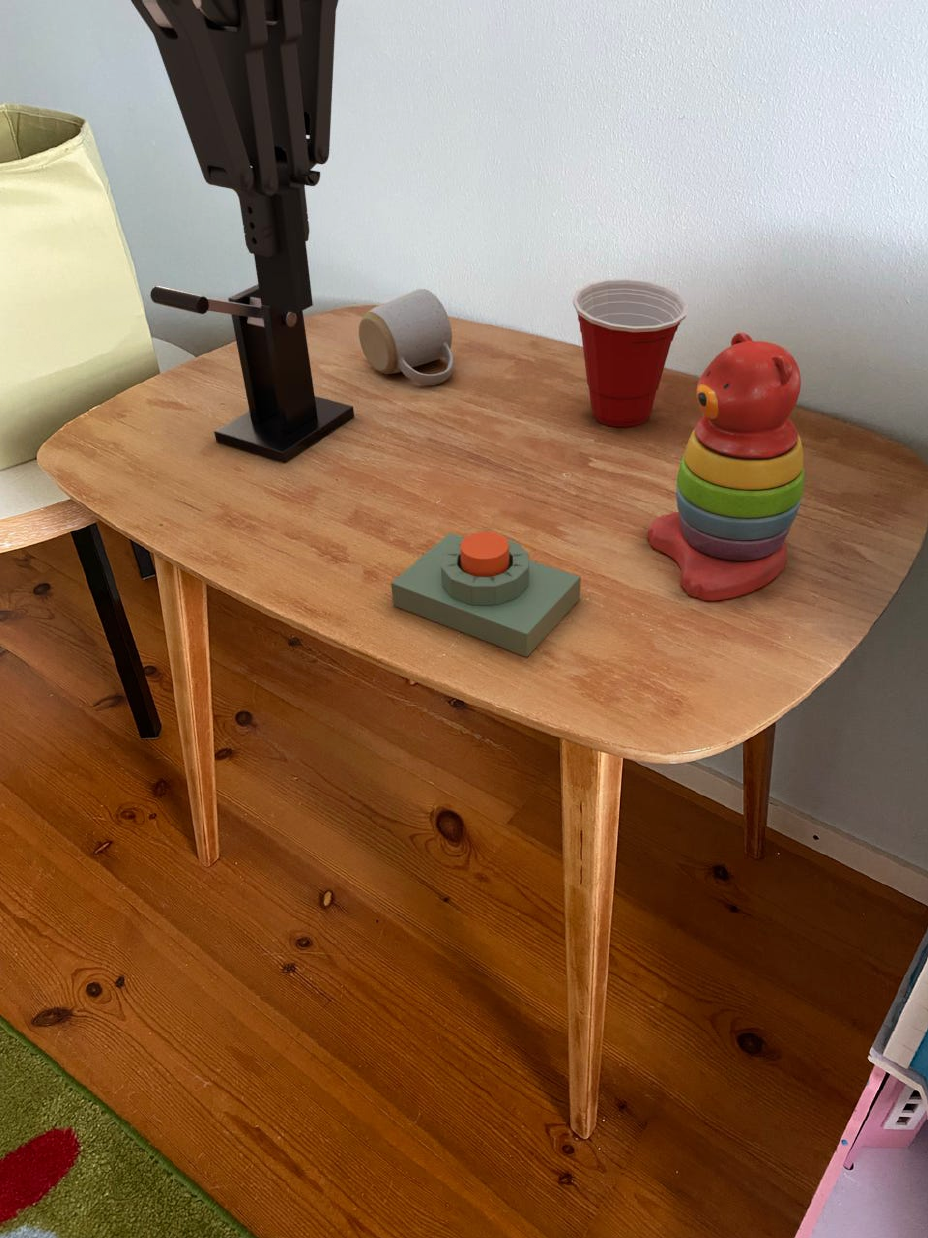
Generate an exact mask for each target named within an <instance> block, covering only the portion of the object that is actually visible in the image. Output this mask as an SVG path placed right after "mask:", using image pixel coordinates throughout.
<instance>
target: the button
mask: <svg viewBox="0 0 928 1238" xmlns="http://www.w3.org/2000/svg"><path fill="white" fill-rule="evenodd" d="M460 551H461V567H462V569H463V570H464V572H465V573H467V574H470V575H473V576H476V577H492V576H495V575H499V574H502V573H504V572H505V571H506V570H507V569H508V567H509V543H508V541H507V538H506V537H505V536H503V535H502V534H499V533H497V532H492V531H479V532H475V533H472V534H468V535H467V536H465V537H464V539H463V541H462V542H461V545H460Z"/></svg>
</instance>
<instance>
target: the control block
mask: <svg viewBox="0 0 928 1238" xmlns="http://www.w3.org/2000/svg"><path fill="white" fill-rule="evenodd" d="M464 538H465V537H463V536H461V535H458V534H456V533H451V532H448V534H447V535H444V537H443V538H442V539H441V540H440V541H438V542H437V543H436V544H435V545H434V546H432V547H431V548H430V549H429V550H428V551H426V552H425V553H424V554H423V555H422V556H420V557H419V558H418V559H417V560H416V561H415V562H414V563H413V564H411V565H410V566H409V567H408V568H406V569H405V570H403V572H402V573H401V574H400V575H398V576H397V577H396V578H394V580H393V581H391V583H390V585H391V596H392V597H391V598H392V605H393V606H394V607H395V608H399V609H402V610H404V611H407V612H409V613H412V614H414V615H417V616H420V617H422V618H425V619H426V620H430V621H432V622H435V623H437V624H440V625H442V626H445V627H448V628H451V629H453V630H456V631H458V632H461V633H464V634H466V635H468V636H470V637H473V638H476V639H479V640H481V641H484V642H486V643H489V644H491V645H494V646H497V647H498V648H499V647H500V648H502V649H504V650H507V651H509V652H512V653H514V654H517V655H520V656H523V657H525V658H528V657H529V656H530V655H531V654H532V653H533V652H534V651H535V649H536V648H537V647H538V646H539V645H540V644H541V643H542V642H543V641H544V639H545V638H546V637H547V636H548V635H549V634H550V633H551V632H552V631H553V630H554V628H555V627H556V626H557V625H558V624H559V623H560V622H561V621H562V620H563V619H564V617H565V616H566V615H567V614H568V613H569V612H570V611H571V610H572V608H573V607H574V606H575V605H576V604H577V603H578V602H579V601H580V599H581V580H582V579H581V576H580V575H577V574H573V573H570V572H568V571H565V570H562V569H559V568H556V567H552V566H551V565H547V564H544V563H541V562H538V561H535V560H532V559H530V555H529V553H528V552H527V550H525V549H524V548H523V546H521V544H519V543H518V542H517V541H514V540H510V539H507V538H506V539H507V541H508V543H509V567H508V569H507V570H506V571H505V572H504V573H502V574H499V575H495V576H492V577H476V576H473V575H470V574H467V573H465V572H464V570H463V569H462V567H461V551H460V545H461V542H462V541H463V539H464Z"/></svg>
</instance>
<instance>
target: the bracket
mask: <svg viewBox="0 0 928 1238" xmlns="http://www.w3.org/2000/svg"><path fill="white" fill-rule="evenodd" d="M250 297H254V298H260V292H259V285H258V283H257V284H255V285H253V286H251V287H249V288H247V289H244V290H243V291H241V292H238V293H236V294H234V295H231V296H230V297H228V298H227V299H228V300H227V301H229V302H235V303H241V304H247V305H249V303H250ZM261 309H262V315H263V321H264V327H260V326H256V325H252V324H248V323H247V319H248V317H247V316H240V315H233V314H230V315H231V321H232V325H233V327H232V328H233V331H234V335H235V336H234V337H235V341H236V342H235V343H236V348H237V352H238V358H239V363H240V368H241V373H242V378H243V379H242V380H243V384H244V389H245V394H246V400H247V406H248V411H245V412H244V413H243V414H240V415H238V416H237V417H236V418H234V419H232V420H231V421H229V422H227V423H226V424H224V425H221V426H220V427H219V428H217V429H215V430H214V431H213V433H214V437H215V442H216V443H219V444H223V445H224V446H229V447H232V448H235V449H238V450H241V451H245V452H248V453H251V454H254V455H257V456H261V457H263V458H267V459H269V460H274V461H275V462H276V461H277V462H280V463H283V464H286V463H288V462H289V461H290V460H292V459H294V458H295V457H297V456H298V455H299V454H301V453H302V452H304V451H305V450H307V449H308V448H309V447H311V446H313V445H314V444H316V443H317V442H319V441H320V440H322V439H323V438H325V437H326V436H328V435H329V434H331V433H332V432H334V431H335V430H337V429H338V428H340V427H341V426H343V425H344V424H345V423H347V422H349V421H350V420H352V419H353V418H354V417H355V410H354V406H353V405H350V404H345V403H341V402H337V401H335V400H330V399H326V398H323V397H320V396H316V394H315V388H314V381H313V373H312V367H311V361H310V353H309V346H308V338H307V332H306V331H307V330H306V325H305V318H304V313H303V311H304V310H303V311H301V312H299V313H292V312H288V311H284V310H280V309H276V308H272V307H268V306H264V305H261Z"/></svg>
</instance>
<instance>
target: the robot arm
mask: <svg viewBox="0 0 928 1238" xmlns="http://www.w3.org/2000/svg"><path fill="white" fill-rule="evenodd" d="M130 1H131V3H132V5H133V6H134V8H135V9H136V11H137V12H138V14H139V15H140V17H141V18H142V19H143V21H144V23H145V24H146V27H148V29H149V30H150V32H151V33H152V35H153V37H154V40H155V43H156V45H157V48H158V51H159V54H160V57H161V60H162V63H163V65H164V69H165V72H166V75H167V77H168V79H169V83H170V85H171V88H172V91H173V94H174V97H175V99H176V102H177V105H178V108H179V110H180V114H181V117H182V120H183V122H184V125H185V129H186V130H187V134H188V137H189V139H190V142H191V145H192V148H193V151H194V153H195V156H196V159H197V162H198V165H199V168H200V170H201V174H202V176H203V179H204V181H205V183H207V184H208V185H210V186H216V187H220V188H226V189H231V190H232V191H234V192H235V194H236V195H237V197H238V201H239V207H240V214H241V215H240V216H241V219H242V220H241V221H242V222H241V223H242V226H243V233H244V241H245V246H246V249H247V250H248V253H249V254H252V255H253V257H254V264H255V271H256V272H255V273H256V276H257V284H258V285H259V292H260V299H261V305H264V306H268V307H272V308H276V309H280V310H284V311H288V312H292V313H299V312H301V311H305V310H307V309H308V308H311V307H314V303H313V295H312V285H311V276H310V267H309V258H308V250H307V242H308V241H309V238H310V223H309V215H308V214H309V213H308V204H307V196H306V187H305V186H307V187H308V186H309V187H315V186H317V185H318V183H319V182H320V179H321V171H318V170H313V168H314V167H315V166H317V165H325V164H326V163H327V162H328V160H329V157H330V147H331V146H330V145H331V127H332V104H333V103H332V102H333V83H334V82H333V81H334V80H333V79H334V60H335V41H336V40H335V39H336V38H335V37H336V18H337V7H338V3H339V0H130ZM307 136H309V137H308V138H307Z"/></svg>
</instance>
